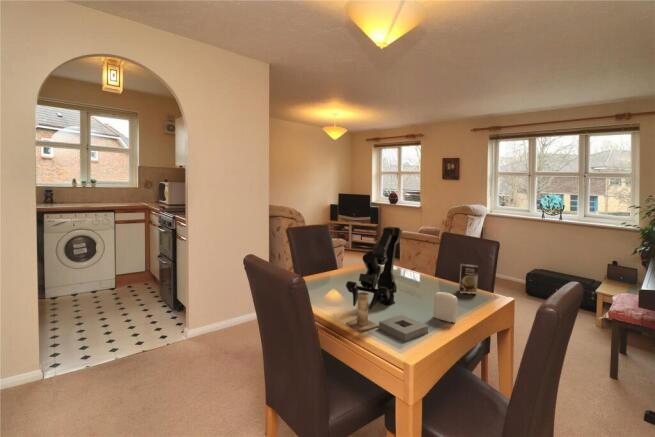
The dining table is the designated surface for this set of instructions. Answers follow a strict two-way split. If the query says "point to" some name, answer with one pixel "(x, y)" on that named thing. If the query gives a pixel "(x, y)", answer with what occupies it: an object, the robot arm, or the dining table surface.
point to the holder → (403, 327)
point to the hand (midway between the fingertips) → (361, 307)
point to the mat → (362, 328)
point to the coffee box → (468, 278)
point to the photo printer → (445, 306)
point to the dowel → (362, 309)
